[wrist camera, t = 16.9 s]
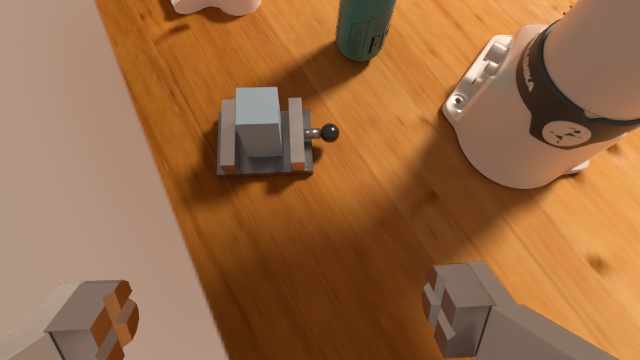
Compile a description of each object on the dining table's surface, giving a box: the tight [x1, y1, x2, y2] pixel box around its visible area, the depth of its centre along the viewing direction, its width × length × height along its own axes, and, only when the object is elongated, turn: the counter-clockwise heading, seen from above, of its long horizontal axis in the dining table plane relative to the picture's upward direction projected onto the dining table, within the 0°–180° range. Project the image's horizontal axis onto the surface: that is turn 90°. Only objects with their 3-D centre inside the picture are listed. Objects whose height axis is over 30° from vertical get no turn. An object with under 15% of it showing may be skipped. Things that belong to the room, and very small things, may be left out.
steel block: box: [235, 87, 283, 157], centre depth 37 cm, size 4×4×8 cm
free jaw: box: [288, 98, 339, 171], centre depth 39 cm, size 8×6×3 cm
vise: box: [217, 99, 313, 178], centre depth 40 cm, size 8×11×4 cm
